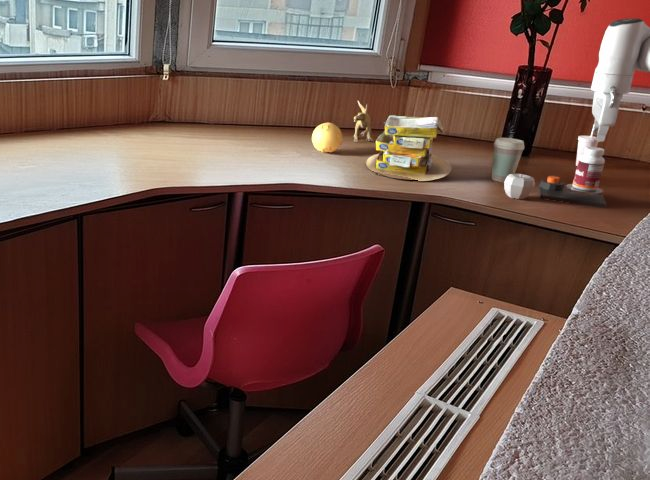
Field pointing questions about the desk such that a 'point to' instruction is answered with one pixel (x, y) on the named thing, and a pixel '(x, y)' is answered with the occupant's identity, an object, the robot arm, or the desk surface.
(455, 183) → the desk surface
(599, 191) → the scale pan
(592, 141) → the smoothie
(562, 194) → the scale
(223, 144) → the desk surface
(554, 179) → the tare button
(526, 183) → the white faceted lump
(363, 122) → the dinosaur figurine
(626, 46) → the robot arm
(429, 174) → the stacked yellow boxes
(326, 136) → the stress ball
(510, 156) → the coffee cup
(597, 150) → the pill bottle
